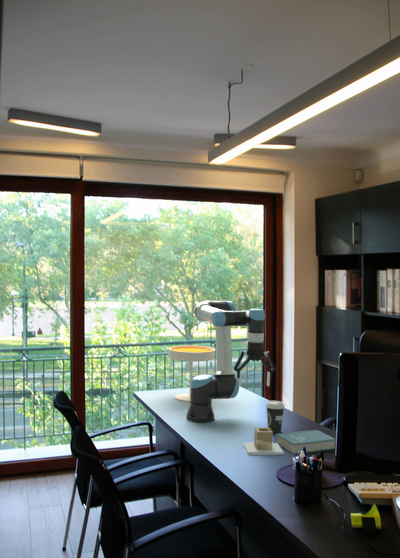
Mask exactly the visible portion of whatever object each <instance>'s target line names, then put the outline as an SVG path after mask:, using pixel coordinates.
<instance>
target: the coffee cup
mask: <svg viewBox="0 0 400 558" xmlns="http://www.w3.org/2000/svg"><path fill="white" fill-rule="evenodd" d="M285 407H286V406H285V405H284V402H283V401H279V400H268V401H267V402H266V405H265V408H266V420H267V428H271V430H272V432H273V435H276V434H280V433H282V425H283V417H284V410H285Z"/></svg>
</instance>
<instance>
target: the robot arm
mask: <svg viewBox="0 0 400 558" xmlns="http://www.w3.org/2000/svg"><path fill="white" fill-rule="evenodd" d="M265 314H266V313H265V310H264V309H262V308H250V309H249V310H247V309H243V310H237V307H236V305H235V303H234V302H233V301H232V300H204V301H201V302H199V303H197V305H196V306H195V308H194V316H195V318H196V319H197V320H198V321H201V322H211V323H212V326H213V327H214V328H215V358H216V371H215V373H214V374H213V375H214V376H213V375H211V374H198V375H196V376H194V377H193V376H192V379H191V385H190V384H189V388H190V387H191V394H190V402H189V407H188V410H187V414H186V420H187V421H189V422H193V423H210V422H213V421H215V413H214V412H215V411H214V409H213V406H212V405H213V404H212V403H213V402H212V401H213V400H222V399H223V400H224V399H226V400H227V399H228V400H229V399H235V398H236V397H237V395H238V394H239V391H240V387H241V386H242V376H243V375H242V373H243V372H242V370H243V369H244V368H245V367H246V366H247V364H248V363H249V362H250V361H251V362H259V361H260V362H261V363H262V364H263V365H264V367H265V369H267V371H266V372H267V373H266V386H267V387H270V381H271V380H272V379H273V372H276V371H277V368H276V367H275V364H274V362H273V360H272V357H271V352H270V351H269V350H268V351H264V347H265V346H264V345H265V343H264V340H265V337H264V336H265V323H266V322H265V321H266V315H265ZM232 327H248V328H247V329H248V332H247V333H248V335H247V340H248V342H247V351H244V350H241V351H240V355H239V357H238V359H237V360H236V361H235V364H234V366H233V359H232V358H233V357H232V356H233V355H232V329H231V328H232ZM245 356H247V357H246V359H245V360H244V361H243V362H242V360H243V358H244V357H245ZM264 356H265V357H266V358H267V360H268V362H269V365H270V366H269V365H268V363H267V362H266V361H265V360H264V358H263V357H264ZM241 362H242V363H241ZM234 371H235V372H236V373H235V372H234Z"/></svg>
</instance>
